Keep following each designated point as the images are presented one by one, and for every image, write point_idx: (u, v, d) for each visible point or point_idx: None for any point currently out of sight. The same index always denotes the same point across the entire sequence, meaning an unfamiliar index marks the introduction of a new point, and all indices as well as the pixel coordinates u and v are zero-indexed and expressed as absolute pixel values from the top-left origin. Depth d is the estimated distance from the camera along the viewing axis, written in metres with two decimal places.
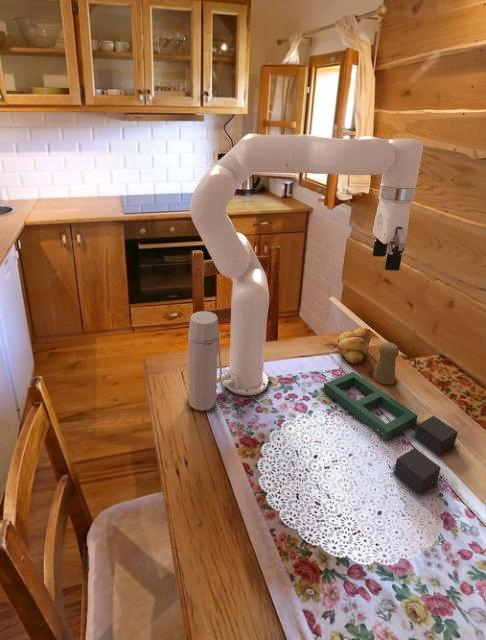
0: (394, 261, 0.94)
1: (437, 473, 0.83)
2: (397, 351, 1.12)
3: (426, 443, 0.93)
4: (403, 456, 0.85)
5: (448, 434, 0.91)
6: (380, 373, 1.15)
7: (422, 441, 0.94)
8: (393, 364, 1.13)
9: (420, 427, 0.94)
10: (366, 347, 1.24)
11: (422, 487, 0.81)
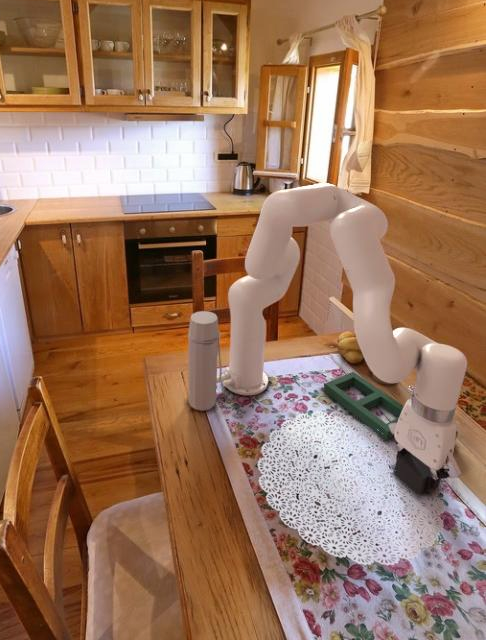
0: (437, 482, 0.80)
1: None
2: None
3: None
4: (403, 456, 0.85)
5: None
6: None
7: None
8: None
9: None
10: None
11: (422, 487, 0.81)
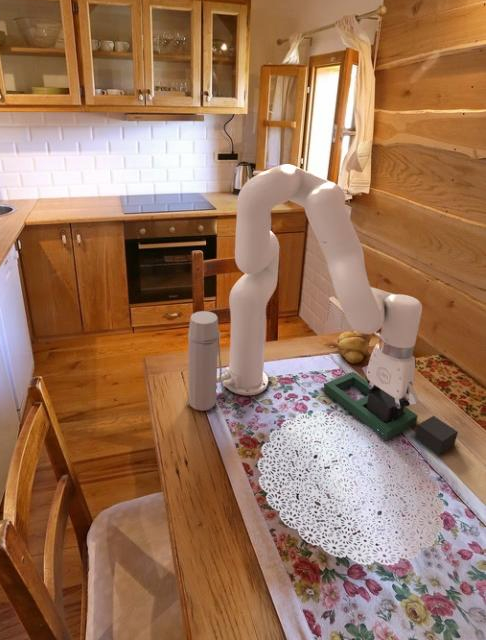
0: (400, 412, 0.97)
1: None
2: None
3: (426, 443, 0.93)
4: (374, 393, 1.01)
5: (448, 434, 0.91)
6: None
7: (422, 441, 0.94)
8: None
9: (420, 427, 0.94)
10: (366, 347, 1.24)
11: (388, 416, 0.97)
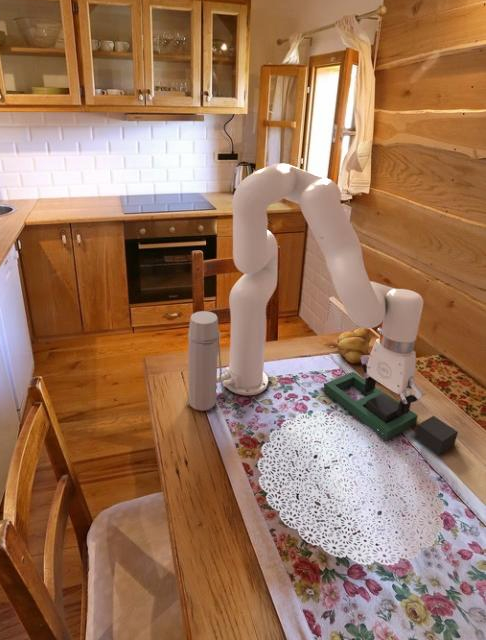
0: (407, 407, 0.95)
1: None
2: None
3: (426, 443, 0.93)
4: (372, 399, 1.02)
5: (448, 434, 0.91)
6: None
7: (422, 441, 0.94)
8: None
9: (420, 427, 0.94)
10: (366, 347, 1.24)
11: (386, 422, 0.98)
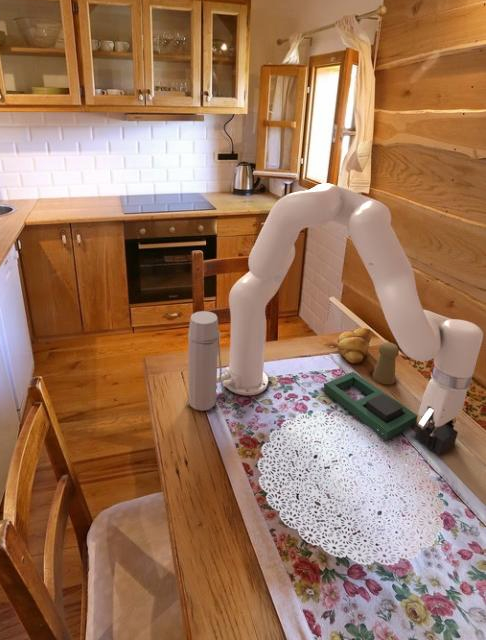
0: (424, 438, 0.92)
1: (400, 412, 1.00)
2: (397, 351, 1.12)
3: None
4: (372, 399, 1.02)
5: (448, 434, 0.91)
6: (380, 373, 1.15)
7: None
8: (393, 364, 1.13)
9: None
10: (366, 347, 1.24)
11: (386, 422, 0.98)
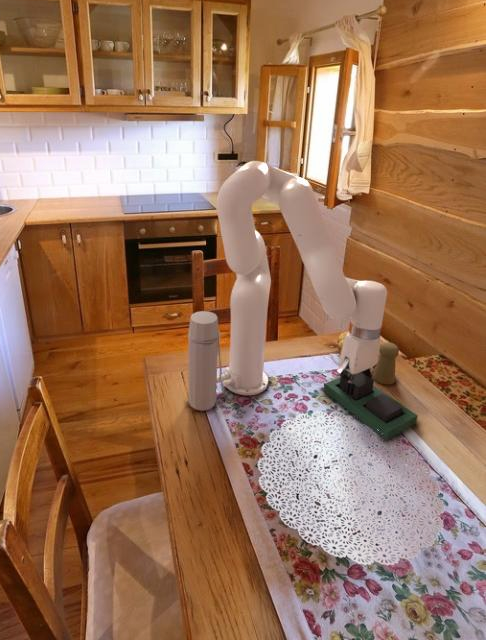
0: (344, 385, 1.06)
1: (400, 412, 1.00)
2: (397, 351, 1.12)
3: None
4: (372, 399, 1.02)
5: (364, 381, 1.05)
6: (380, 373, 1.15)
7: None
8: (393, 364, 1.13)
9: None
10: None
11: (386, 422, 0.98)
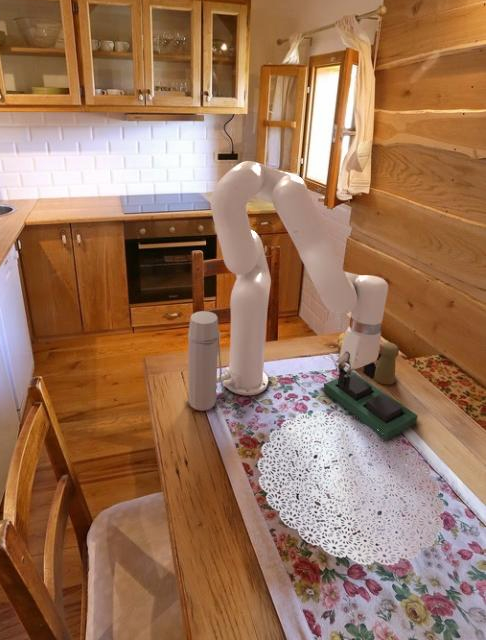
0: (341, 379, 1.04)
1: (400, 412, 1.00)
2: (397, 351, 1.12)
3: None
4: (372, 399, 1.02)
5: (362, 388, 1.06)
6: (380, 373, 1.15)
7: None
8: (393, 364, 1.13)
9: None
10: None
11: (386, 422, 0.98)
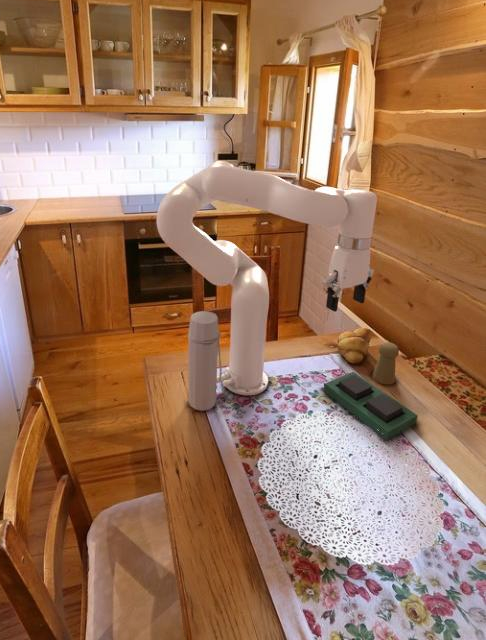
0: (329, 301, 1.01)
1: (400, 412, 1.00)
2: (397, 351, 1.12)
3: None
4: (372, 399, 1.02)
5: (362, 388, 1.06)
6: (380, 373, 1.15)
7: None
8: (393, 364, 1.13)
9: (340, 383, 1.08)
10: (366, 347, 1.24)
11: (386, 422, 0.98)
